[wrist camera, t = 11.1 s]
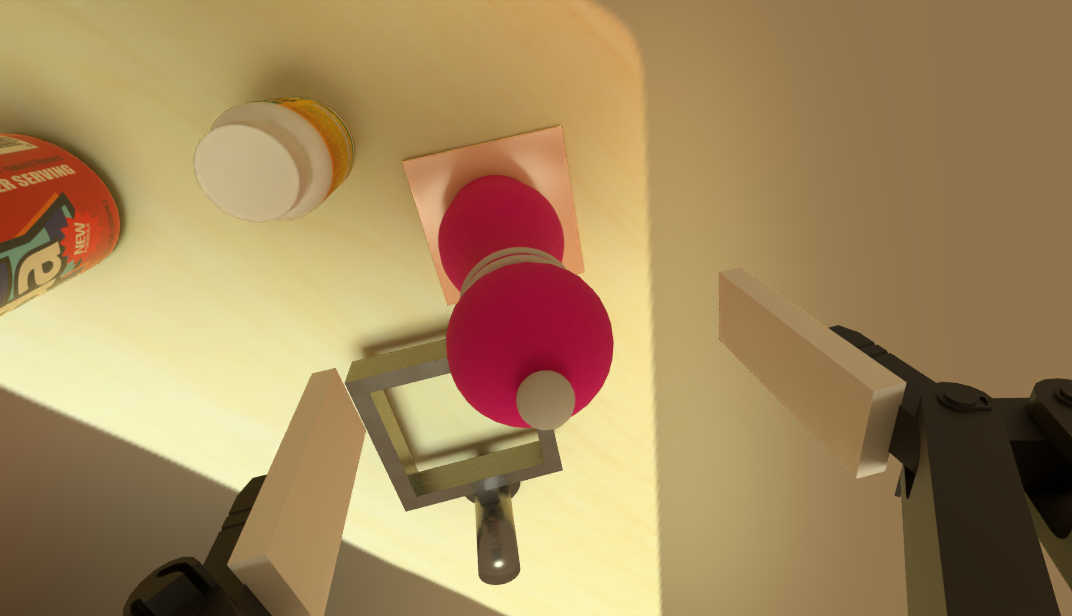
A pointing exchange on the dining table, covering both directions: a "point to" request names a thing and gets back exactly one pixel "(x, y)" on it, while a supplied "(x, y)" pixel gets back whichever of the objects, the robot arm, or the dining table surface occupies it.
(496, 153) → the terracotta tile
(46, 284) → the soda can
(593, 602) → the dining table surface
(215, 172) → the supplement bottle
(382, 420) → the square frame with post
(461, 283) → the pepper mill
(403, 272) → the dining table surface
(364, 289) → the dining table surface
